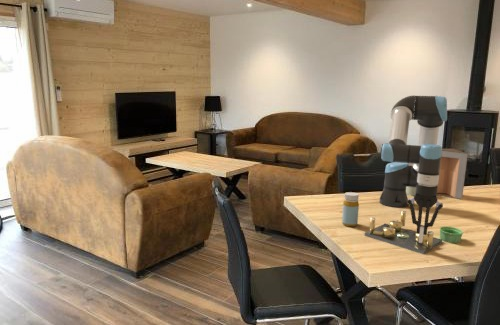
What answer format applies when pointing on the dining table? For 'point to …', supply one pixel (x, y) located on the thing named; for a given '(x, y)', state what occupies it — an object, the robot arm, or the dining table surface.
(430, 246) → the knob
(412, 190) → the can
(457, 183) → the cabinet
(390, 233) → the knob
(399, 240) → the control panel
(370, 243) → the dining table surface
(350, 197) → the bottle
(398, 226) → the knob
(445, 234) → the ramekin
